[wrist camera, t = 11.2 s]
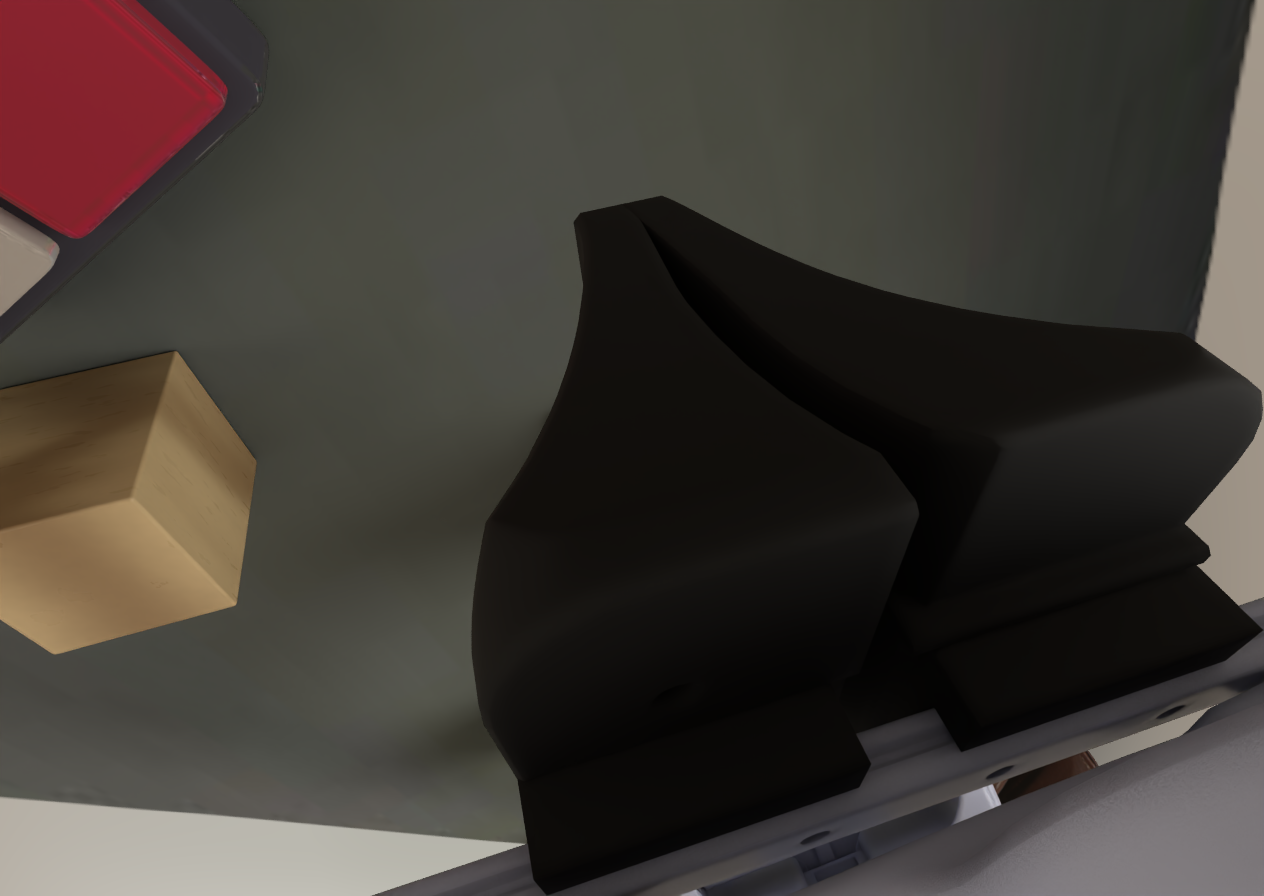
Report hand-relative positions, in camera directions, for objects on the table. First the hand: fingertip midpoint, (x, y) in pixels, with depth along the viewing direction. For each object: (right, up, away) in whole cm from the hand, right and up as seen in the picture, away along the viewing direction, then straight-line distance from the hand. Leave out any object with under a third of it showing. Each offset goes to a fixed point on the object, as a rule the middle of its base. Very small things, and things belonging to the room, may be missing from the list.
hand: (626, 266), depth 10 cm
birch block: (-16, -2, +11) cm, 19 cm away
